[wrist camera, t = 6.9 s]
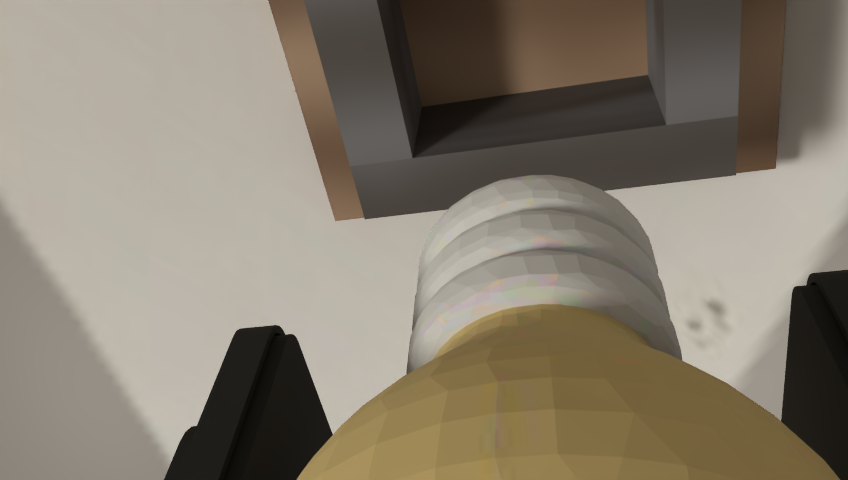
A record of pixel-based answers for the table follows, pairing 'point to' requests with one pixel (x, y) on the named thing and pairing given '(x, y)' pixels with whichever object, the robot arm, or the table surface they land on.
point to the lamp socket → (529, 93)
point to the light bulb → (553, 360)
